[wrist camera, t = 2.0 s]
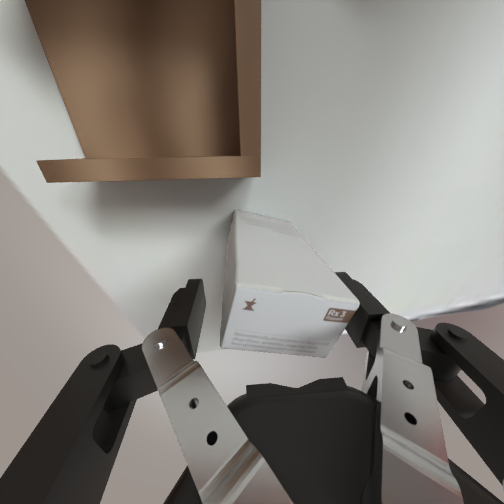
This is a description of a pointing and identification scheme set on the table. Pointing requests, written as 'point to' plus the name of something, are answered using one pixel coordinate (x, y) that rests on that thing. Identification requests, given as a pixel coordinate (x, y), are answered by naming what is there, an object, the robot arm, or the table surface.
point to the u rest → (156, 87)
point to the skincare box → (280, 291)
